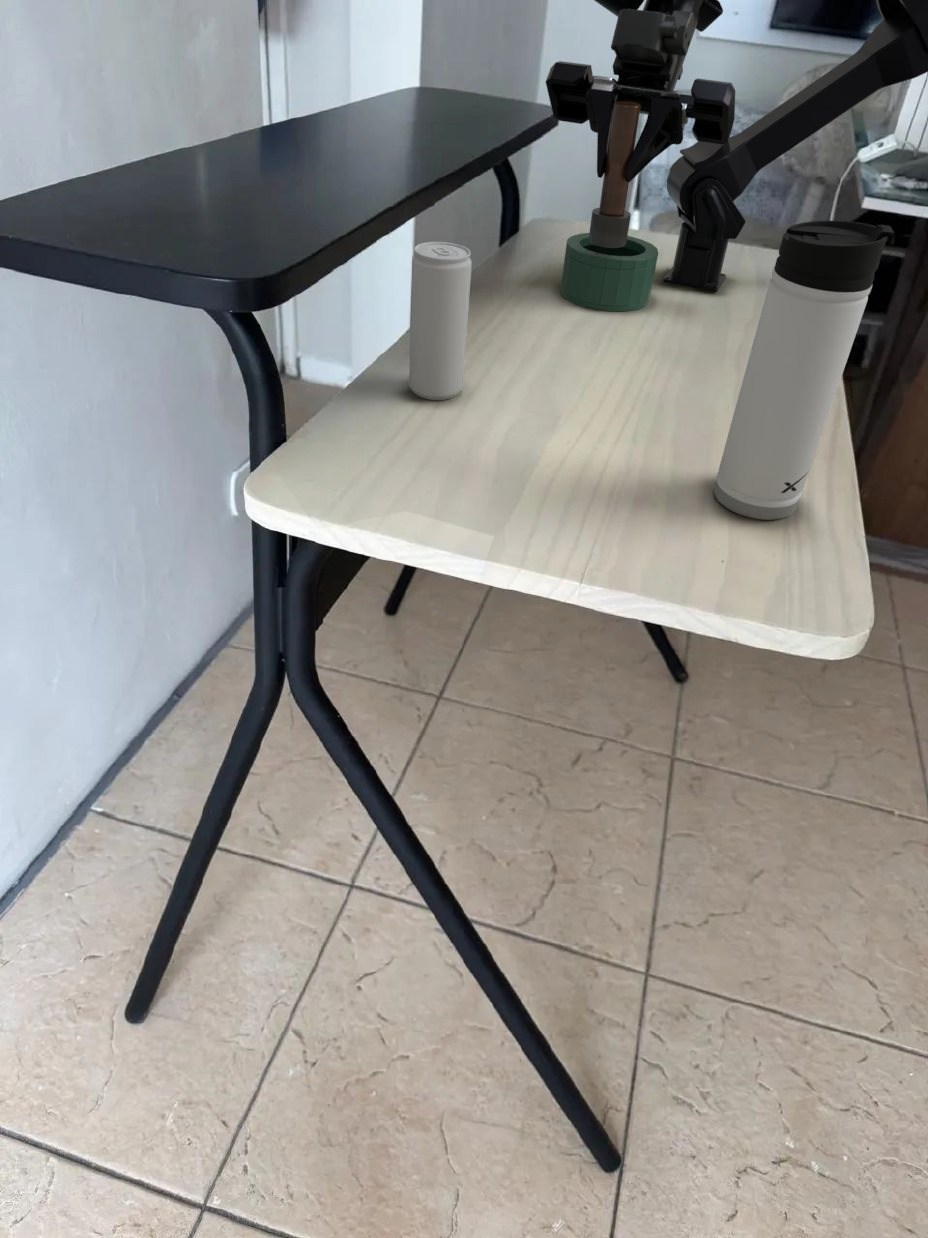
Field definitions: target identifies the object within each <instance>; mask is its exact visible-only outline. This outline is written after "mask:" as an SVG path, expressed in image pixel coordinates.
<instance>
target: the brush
mask: <svg viewBox="0 0 928 1238" xmlns="http://www.w3.org/2000/svg"><path fill="white" fill-rule="evenodd" d="M640 107H641V105H640V104H638V103H634V102H627V101H618V102H615V103H614V107H613V114H612V121H611V128H610V136H609V143H608V150H607V157H606V165H605V172H604V174H603V178H602V179H603V180H602V188H601V194H600V202H599V207H595V208H594V209H592V211H591V218H590V225H589V232H588V233H589V240H588V241H589V242H590V243H591V244H593V245H596V246H599V247H605V248H620V247H624V246H625V245H626V242H627V236H629V228H630V223H631V217H632V213H631V212H630V211H627V210H626V203H627V199H628V191H629V184H630V182H626V180H625V174H626V170H627V167H628V164H629V161H630V158H631V156H632V154H633V151H634V149H635V147H636V140H637V133H638V126H639V121H640V115H641V113H640Z"/></svg>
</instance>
